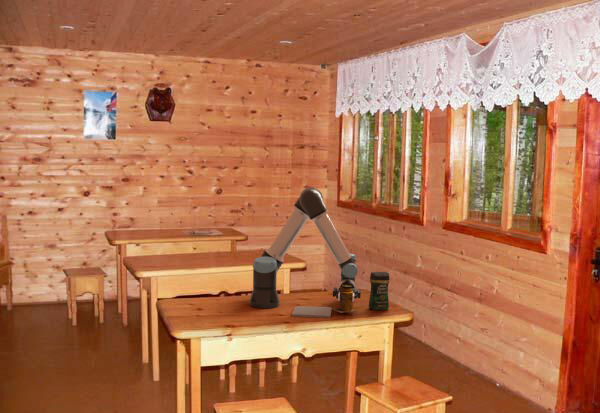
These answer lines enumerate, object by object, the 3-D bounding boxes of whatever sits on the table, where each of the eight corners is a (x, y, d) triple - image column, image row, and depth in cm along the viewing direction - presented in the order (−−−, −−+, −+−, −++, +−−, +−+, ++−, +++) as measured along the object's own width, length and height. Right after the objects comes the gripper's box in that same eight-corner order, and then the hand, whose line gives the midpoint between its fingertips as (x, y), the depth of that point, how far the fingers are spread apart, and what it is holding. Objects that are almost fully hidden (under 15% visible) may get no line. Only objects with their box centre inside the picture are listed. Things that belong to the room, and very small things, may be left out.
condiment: (355, 311, 310) (356, 286, 309) (341, 313, 306) (342, 288, 305) (346, 307, 316) (347, 283, 315) (332, 309, 312) (333, 284, 311)
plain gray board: (291, 316, 305) (291, 314, 305) (295, 308, 321) (295, 306, 321) (330, 317, 303) (330, 315, 303) (331, 309, 319) (331, 307, 319)
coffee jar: (371, 311, 317) (372, 273, 315) (367, 307, 325) (368, 270, 323) (390, 310, 319) (391, 273, 317) (385, 306, 326) (386, 270, 325)
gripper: (366, 296, 328) (366, 307, 305) (328, 294, 330) (325, 305, 307) (366, 281, 327) (366, 291, 304) (328, 279, 329) (326, 289, 306)
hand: (346, 298), depth 305 cm, fingers closed on condiment, 6 cm apart
